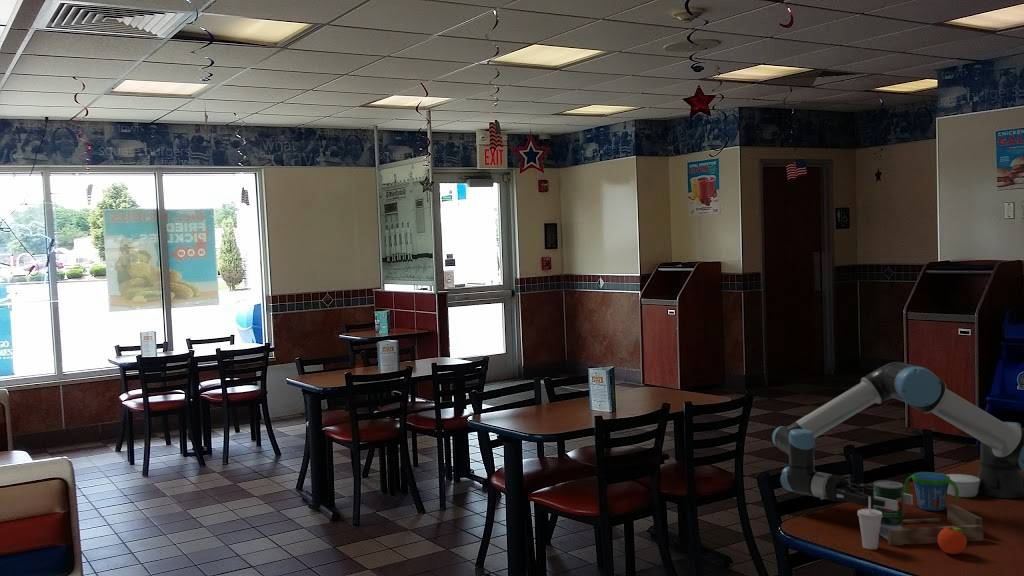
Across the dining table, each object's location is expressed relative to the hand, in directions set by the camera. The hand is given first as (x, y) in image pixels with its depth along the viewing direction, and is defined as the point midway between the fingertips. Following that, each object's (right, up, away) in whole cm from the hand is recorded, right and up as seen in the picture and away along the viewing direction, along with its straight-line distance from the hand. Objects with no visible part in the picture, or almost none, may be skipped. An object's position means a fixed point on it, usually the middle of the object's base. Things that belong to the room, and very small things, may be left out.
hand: (904, 502), depth 251 cm
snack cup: (+20, -8, +26) cm, 34 cm away
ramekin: (+36, -7, +41) cm, 56 cm away
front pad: (-2, -9, +3) cm, 10 cm away
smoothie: (-13, -10, -8) cm, 18 cm away
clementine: (+7, -10, -14) cm, 19 cm away
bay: (+6, -9, +4) cm, 12 cm away
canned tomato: (-3, -7, +4) cm, 8 cm away
